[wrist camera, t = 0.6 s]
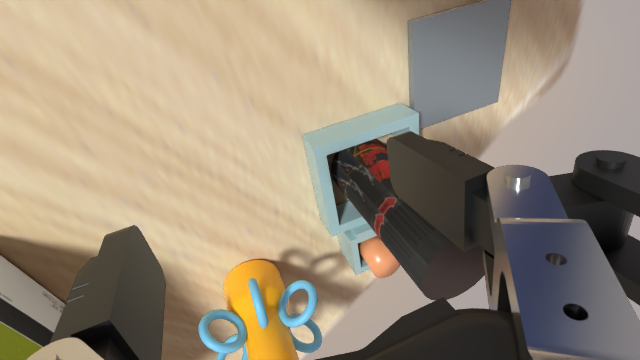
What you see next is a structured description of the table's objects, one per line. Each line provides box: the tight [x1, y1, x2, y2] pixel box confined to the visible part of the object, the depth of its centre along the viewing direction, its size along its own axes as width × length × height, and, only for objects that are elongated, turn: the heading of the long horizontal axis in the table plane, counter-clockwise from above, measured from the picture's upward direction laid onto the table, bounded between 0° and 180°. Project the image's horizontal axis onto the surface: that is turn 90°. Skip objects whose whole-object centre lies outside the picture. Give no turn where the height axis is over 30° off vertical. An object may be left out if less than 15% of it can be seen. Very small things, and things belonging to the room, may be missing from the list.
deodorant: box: [331, 139, 485, 300], centre depth 28 cm, size 6×6×15 cm
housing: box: [302, 103, 419, 275], centre depth 34 cm, size 16×10×4 cm, turn 10°
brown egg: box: [358, 236, 400, 278], centre depth 35 cm, size 3×3×4 cm
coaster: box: [408, 0, 511, 129], centre depth 32 cm, size 10×10×1 cm
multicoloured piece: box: [199, 260, 322, 360], centre depth 31 cm, size 12×10×15 cm
